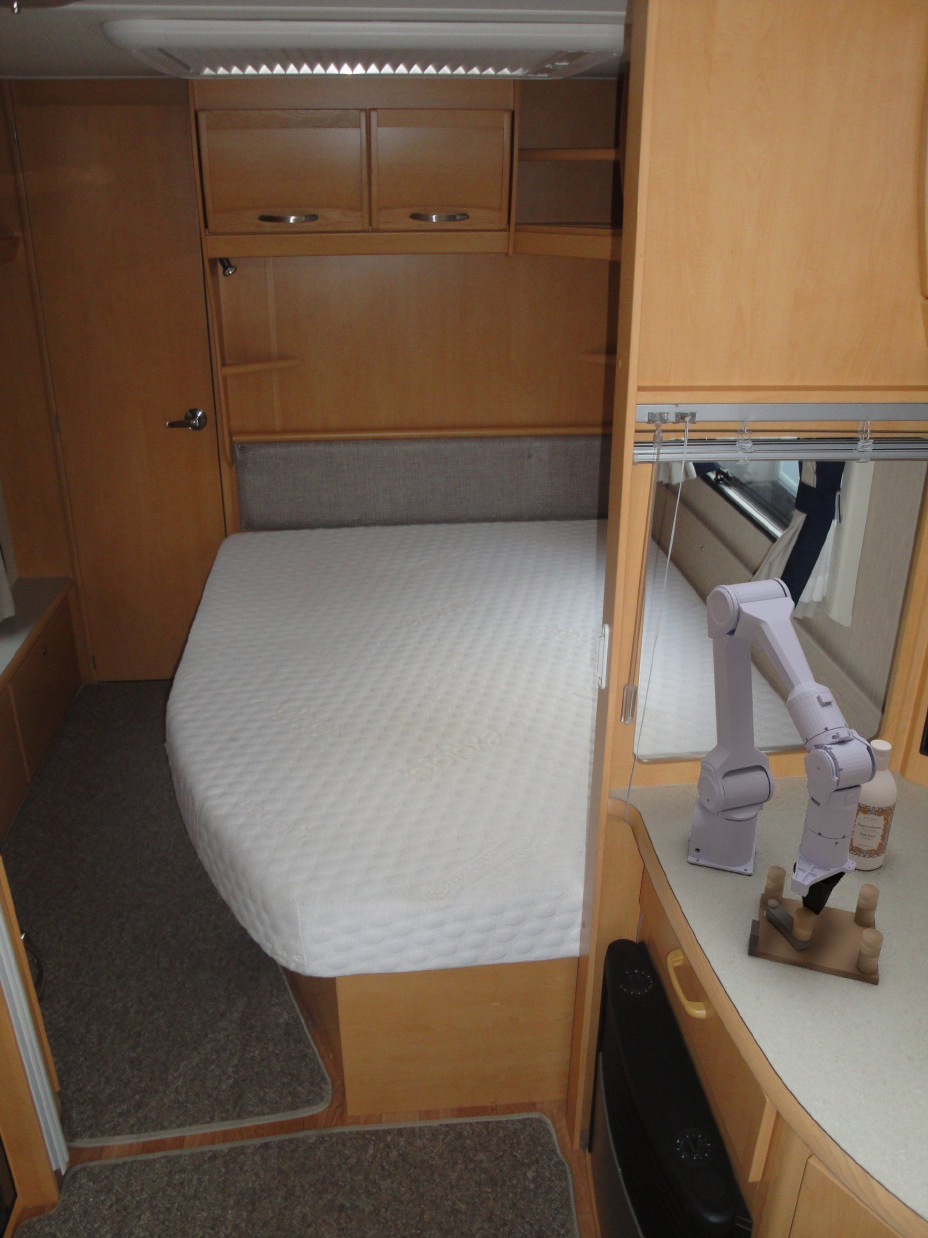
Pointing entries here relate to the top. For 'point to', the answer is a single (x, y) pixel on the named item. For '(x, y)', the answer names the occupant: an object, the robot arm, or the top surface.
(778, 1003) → the top surface
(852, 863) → the robot arm
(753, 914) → the top surface
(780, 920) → the grey bar with knob
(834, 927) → the stool board
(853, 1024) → the top surface
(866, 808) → the bath foam
